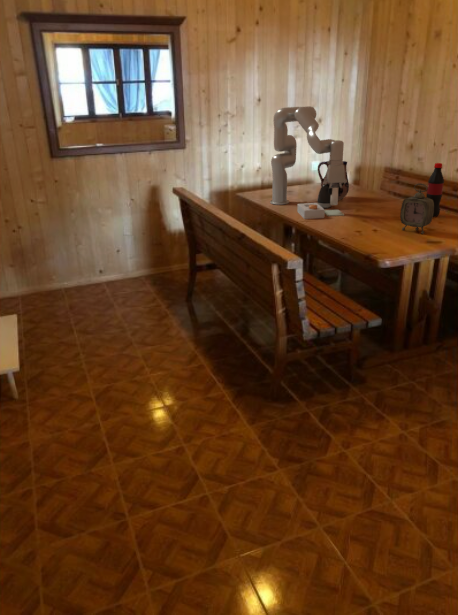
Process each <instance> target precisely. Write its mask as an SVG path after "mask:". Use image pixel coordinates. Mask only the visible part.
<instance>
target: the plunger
mask: <svg viewBox="0 0 458 615" xmlns="http://www.w3.org/2000/svg"><path fill="white" fill-rule="evenodd" d="M309 209H317V205H309Z"/></svg>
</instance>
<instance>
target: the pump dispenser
mask: <svg viewBox="0 0 458 615" xmlns="http://www.w3.org/2000/svg"><path fill="white" fill-rule="evenodd" d="M328 190H329V187H328V186H327V185H326V184H323V185H322V187H321V186H320V189H319V191H318V196H317V202H316V203H317V204H319V205H320V206H321V207H322V208H323V209H330V208H331V207H332V206H333V205H330V199H331V195H330V194H329V193H328Z"/></svg>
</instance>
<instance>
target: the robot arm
mask: <svg viewBox="0 0 458 615" xmlns="http://www.w3.org/2000/svg"><path fill="white" fill-rule="evenodd" d="M316 118H317V110H316V109H315V107H313V106H291V107H290V106H288V107H282V108H279V109H278V110H277V109H276V112H275V113H274V114H273V149H274V150H275V151H276V152H277V154H274V155H273V156H272V157H271V160H270V162H271V163H270V165H271V170H272V172H271V173H272V191H271V192H272V194H271V195H272V198H271V200H270V201H269V203H270V204H271V205H277V206H278V205H279V206H281V205H287V204H290V201H289V200H288V197H287V196H288V174H287V171H286V169H289V168H292V167H294V166H295V164H296V162H297V161H296V160H297V147H298V146H297V139H296V137H295V136H293V135H292V134H288V126H287V124H286V123H293V122H298V124H299V125H300V126H301V128H302V129H303V131H305V133H306V139H307V140H306V141H307V143H308V145H309V146H310V148H311V149H312V150H313V151H314V152H315V153H316V154H318V155H321V154H322V155H323V154H327V153H328V154H329V159H328V161H327V164H328V163H329V165H328V168H327V171H326V172H327V176H326V179H325V180H324V182H323V183H324V184H326V185H327V186H328V187H329V190H328V193H329V194H330V195H332V188H331V186H332V183H338V184H339V189H338V194H340V193H341V187H342V186H343V185H344V184H345V183H346V182H347V180H346V179H345V170H344V165H343V161H344V148H345V147H344V146H345V145H344V144H345V142H344V141H343V140H339V139H338V140H335V139H331V138H330V139H329V138H328V139H320V138H319V137H318V135H317V134H316V132H317V130H318V129H319V127H320V124H319V122H318V121H317V119H316ZM278 152H281V153H278ZM327 182H328V183H329V184H328V183H327Z"/></svg>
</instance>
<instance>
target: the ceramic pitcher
mask: <svg viewBox="0 0 458 615" xmlns="http://www.w3.org/2000/svg"><path fill="white" fill-rule="evenodd" d="M322 165H325V166H326V168H327V169H328V165H329V163H328V164H327V161H321V162H319V164H317V173H318V176H319V180H320V188H321V187H322V185H323V184H324V183H323V182H324V180H325V179H326V176H327V171H326V173H325V175H324V177H323V176H322V173H321V169H320V168H321V167H322ZM343 165H344V170H345V179H346V180H347V182H346V183H345V184H344V185H343V186H342V187H341V193H340V194H338V201H342V199H345V197H346V196H347V195H348V193H349V189H350V185H349V182H350V181H349V177H348V172H347V166H348V161H346V160H343ZM327 183H328V182H327ZM328 184H329V183H328ZM332 184H338V183H332Z"/></svg>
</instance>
